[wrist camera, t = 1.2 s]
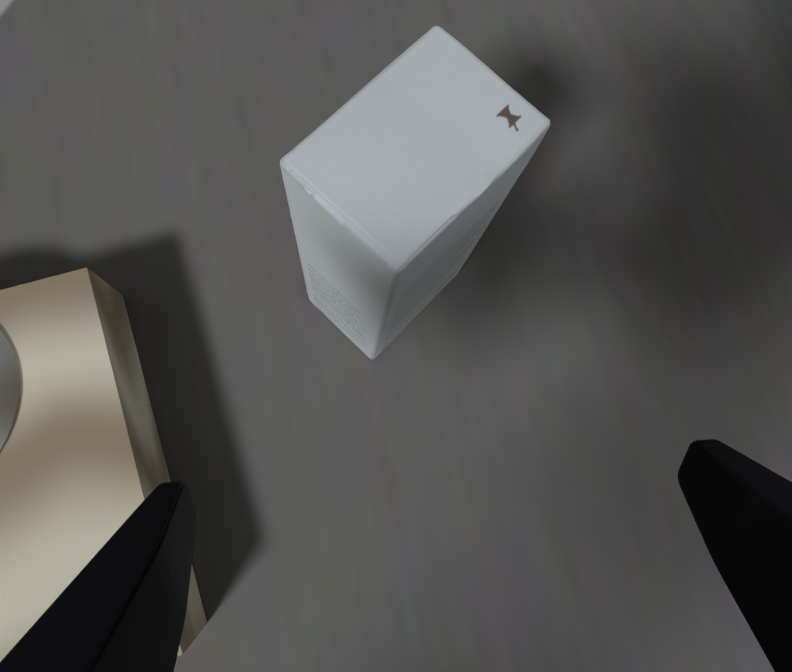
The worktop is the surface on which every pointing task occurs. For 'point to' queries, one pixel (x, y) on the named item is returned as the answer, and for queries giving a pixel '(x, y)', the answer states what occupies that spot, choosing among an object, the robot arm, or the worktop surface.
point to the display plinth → (69, 442)
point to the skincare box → (405, 185)
